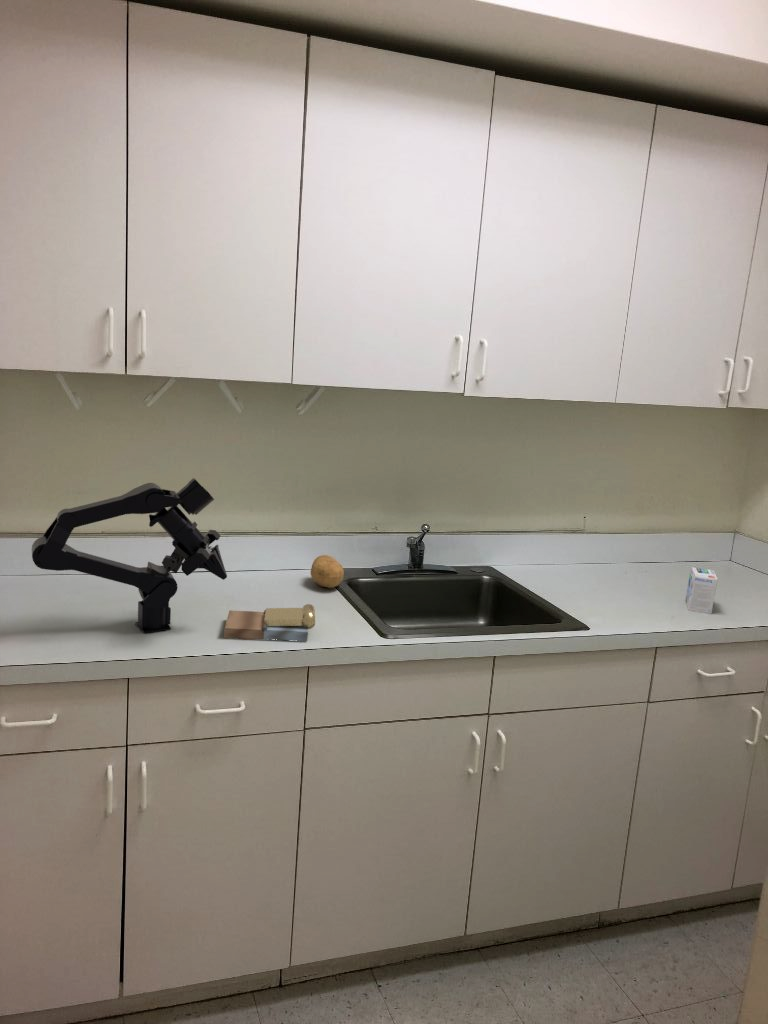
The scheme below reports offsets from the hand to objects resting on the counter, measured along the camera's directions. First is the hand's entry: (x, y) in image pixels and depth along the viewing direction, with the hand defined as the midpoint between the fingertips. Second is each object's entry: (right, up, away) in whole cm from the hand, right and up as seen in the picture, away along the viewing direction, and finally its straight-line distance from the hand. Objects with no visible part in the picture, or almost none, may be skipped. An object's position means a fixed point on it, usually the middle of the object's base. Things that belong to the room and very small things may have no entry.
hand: (225, 578), depth 190 cm
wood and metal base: (+9, -13, +4) cm, 16 cm away
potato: (+21, -6, +41) cm, 47 cm away
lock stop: (+9, -10, +3) cm, 14 cm away
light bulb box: (+131, -13, +52) cm, 141 cm away
